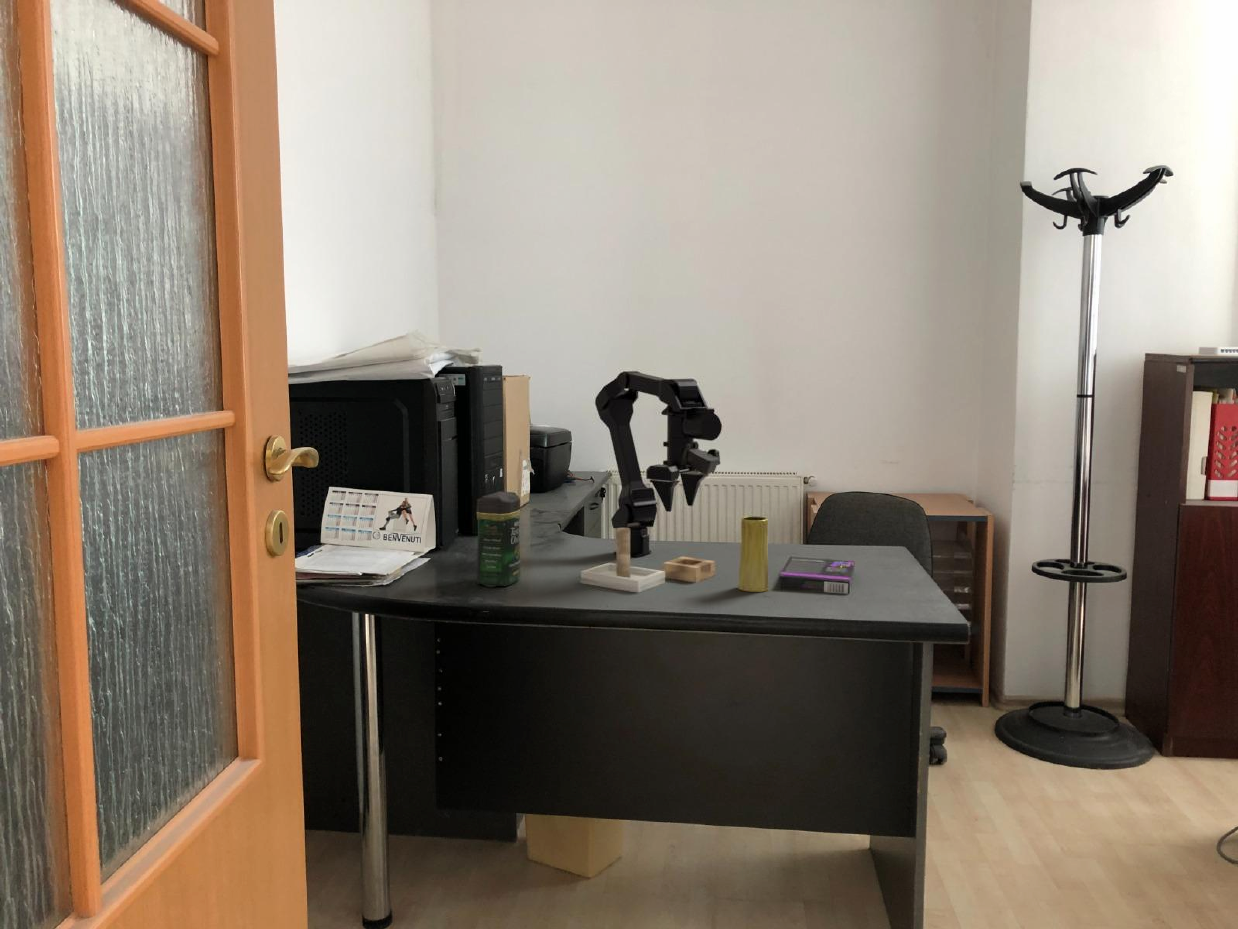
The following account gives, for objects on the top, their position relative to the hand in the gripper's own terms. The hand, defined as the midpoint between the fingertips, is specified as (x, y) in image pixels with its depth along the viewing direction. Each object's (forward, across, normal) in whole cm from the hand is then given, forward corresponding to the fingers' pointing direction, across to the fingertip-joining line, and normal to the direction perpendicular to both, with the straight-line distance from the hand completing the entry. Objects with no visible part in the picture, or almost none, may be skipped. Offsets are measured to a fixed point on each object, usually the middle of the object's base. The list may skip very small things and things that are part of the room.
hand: (679, 508), depth 215 cm
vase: (+13, -8, -22) cm, 27 cm away
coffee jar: (+13, -33, +23) cm, 42 cm away
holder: (+13, -6, -6) cm, 16 cm away
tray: (+13, -19, +2) cm, 23 cm away
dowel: (+12, -19, +2) cm, 22 cm away
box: (+14, +6, -30) cm, 33 cm away
